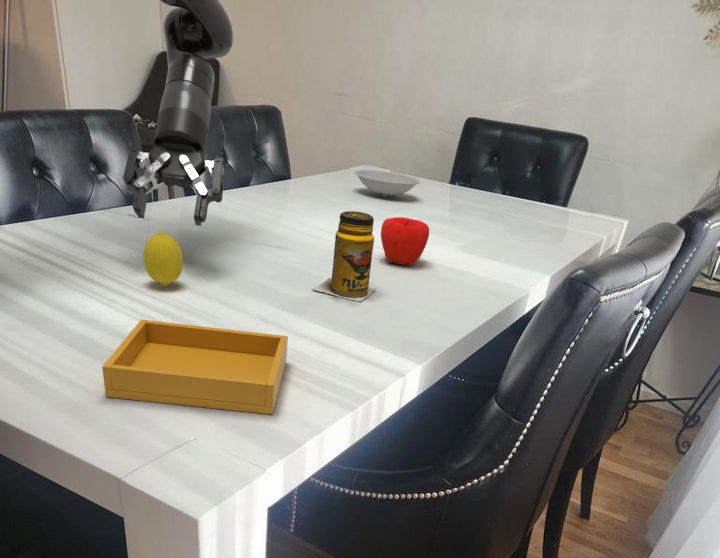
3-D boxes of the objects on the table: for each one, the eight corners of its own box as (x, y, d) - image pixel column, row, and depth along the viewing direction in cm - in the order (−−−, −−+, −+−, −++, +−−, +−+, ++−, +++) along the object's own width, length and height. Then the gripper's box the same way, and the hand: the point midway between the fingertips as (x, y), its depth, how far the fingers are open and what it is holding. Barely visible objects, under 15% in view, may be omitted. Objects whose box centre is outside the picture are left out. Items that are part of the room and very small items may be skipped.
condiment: (360, 302, 102) (369, 223, 95) (311, 290, 104) (317, 212, 97) (376, 290, 107) (385, 214, 101) (329, 279, 109) (335, 204, 103)
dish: (344, 194, 170) (346, 173, 167) (362, 186, 181) (364, 167, 179) (409, 207, 166) (412, 186, 163) (422, 198, 178) (425, 178, 175)
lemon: (184, 281, 100) (182, 228, 96) (182, 293, 96) (180, 238, 91) (147, 279, 99) (143, 225, 95) (143, 291, 95) (139, 235, 90)
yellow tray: (105, 397, 68) (102, 366, 66) (143, 346, 79) (141, 319, 77) (272, 414, 69) (273, 385, 67) (286, 362, 80) (287, 335, 78)
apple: (383, 269, 118) (389, 224, 114) (372, 254, 125) (377, 212, 121) (429, 271, 120) (437, 227, 116) (416, 257, 127) (423, 215, 123)
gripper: (130, 98, 95) (112, 197, 92) (227, 111, 96) (212, 209, 93) (143, 134, 102) (127, 227, 99) (233, 146, 103) (220, 238, 100)
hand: (168, 218), depth 96 cm, fingers open, 8 cm apart
